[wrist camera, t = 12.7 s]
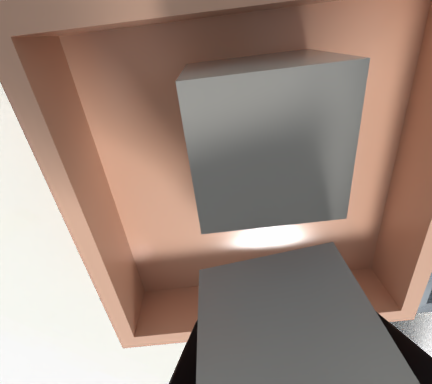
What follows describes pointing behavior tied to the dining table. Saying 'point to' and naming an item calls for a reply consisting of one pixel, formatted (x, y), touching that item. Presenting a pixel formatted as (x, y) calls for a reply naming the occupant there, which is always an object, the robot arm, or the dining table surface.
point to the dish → (177, 151)
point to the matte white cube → (272, 137)
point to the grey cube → (292, 324)
